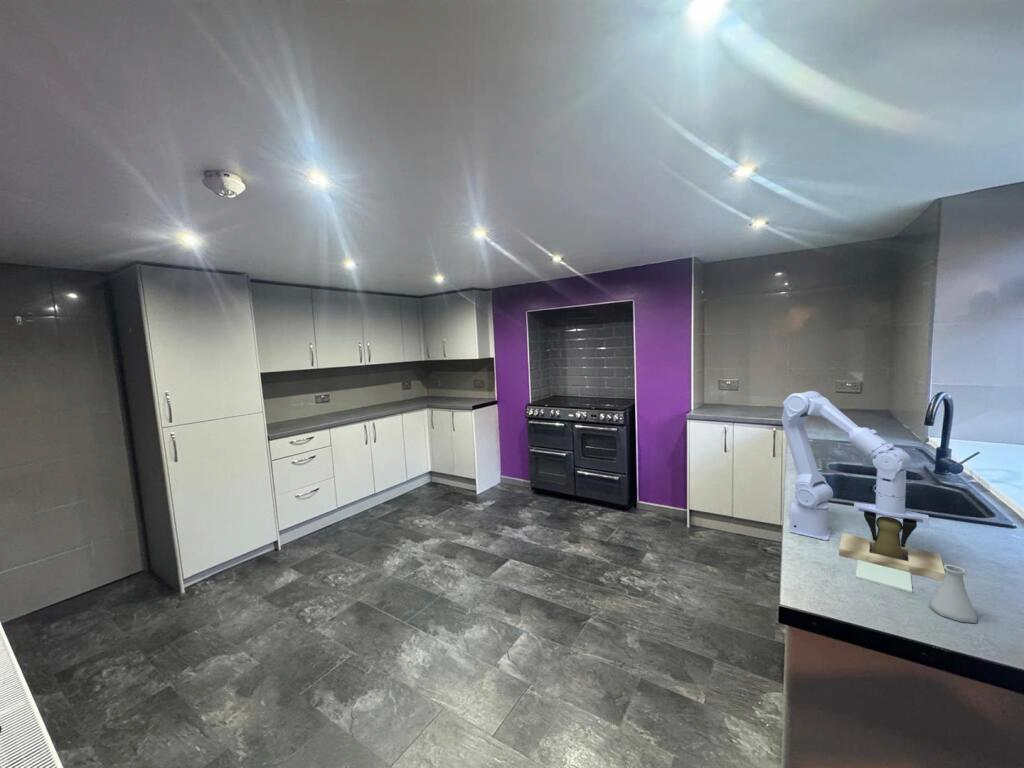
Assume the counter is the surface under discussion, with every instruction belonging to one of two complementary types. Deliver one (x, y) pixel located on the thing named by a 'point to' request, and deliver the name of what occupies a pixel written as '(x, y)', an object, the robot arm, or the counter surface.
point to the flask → (953, 597)
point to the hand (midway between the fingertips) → (888, 542)
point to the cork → (888, 537)
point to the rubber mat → (884, 576)
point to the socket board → (916, 564)
